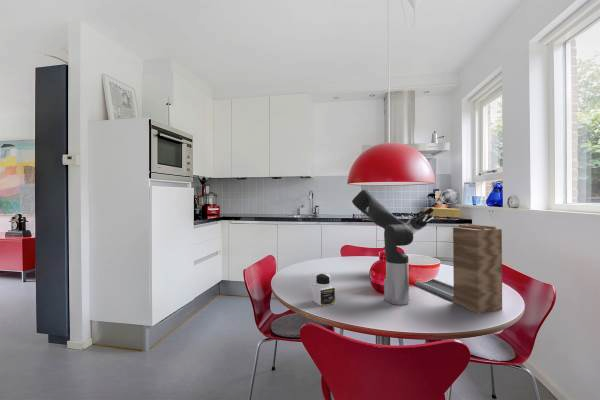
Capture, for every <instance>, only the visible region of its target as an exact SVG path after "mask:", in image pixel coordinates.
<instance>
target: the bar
mask: <svg viewBox="0 0 600 400" xmlns="http://www.w3.org/2000/svg"><path fill="white" fill-rule="evenodd" d="M429 208H430V207H423V212H424V211H425V210H428V209H429ZM432 208H433V212H432V213H430V214H428V215H432V216H438V217H445V218H446V217H448V218H462V209H460V208H445V207H440V208H437V207H432Z"/></svg>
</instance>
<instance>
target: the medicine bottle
mask: <svg viewBox="0 0 600 400" xmlns="http://www.w3.org/2000/svg"><path fill="white" fill-rule="evenodd" d="M315 278H316V284H313V285H312V302H313V301H314V303H315V304H316V303H317V305H318V306H320V307H325V305H326V306H329V305H334V303H336V295H335V294H336V291H335V289H336V287H335V286H334V285H331V276H330V274H327V273H319V274H317V275H316V277H315Z"/></svg>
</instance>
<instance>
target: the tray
mask: <svg viewBox="0 0 600 400" xmlns="http://www.w3.org/2000/svg"><path fill="white" fill-rule="evenodd" d="M414 284H415V285H414V286H417V287H419V288H422V289H424V290H425V291H429V292H430V293H433V294H434V295H438V296H440V297H442V298H444V299H446V300H449V301H451V302H454V285H452V284H450V283H447V282H443V281H441V280H439V279H435V278H434V279H432V280H430V281H428V282H421V281H416V282H415V281H414Z"/></svg>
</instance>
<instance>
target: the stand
mask: <svg viewBox="0 0 600 400" xmlns="http://www.w3.org/2000/svg"><path fill="white" fill-rule="evenodd" d="M502 232H503V231H502V228H497V227H496V226H492V225H491V226H489V225H480V224H471V223H470V224H468V225H467V224H458V226H454V227H452V235H453V236H452V243H453V245H452V248H453V249H452V250H453V252H452V254H453V255H452V256H453V259H452V260H453V261H452V262H453V263H452V264H453V265H452V266H453V271H452V272H453V286H454V301H453V304H457V305H459V306H461V307H463V308H466V309H468V310H470V311H472V312H474V313H476V314H482V313H489V312H494V311H502V310H503V234H502Z"/></svg>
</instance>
